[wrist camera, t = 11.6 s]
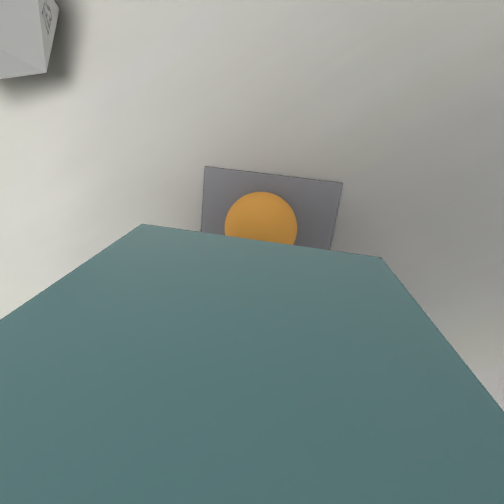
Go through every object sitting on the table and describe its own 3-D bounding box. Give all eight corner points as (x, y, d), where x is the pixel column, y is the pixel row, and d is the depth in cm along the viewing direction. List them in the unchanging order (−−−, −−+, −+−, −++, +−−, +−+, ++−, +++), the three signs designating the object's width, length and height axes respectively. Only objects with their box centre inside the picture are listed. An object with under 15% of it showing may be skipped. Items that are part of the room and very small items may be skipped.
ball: (285, 284, 24) (290, 232, 27) (303, 238, 20) (307, 184, 23) (215, 270, 24) (229, 220, 27) (219, 221, 20) (234, 169, 23)
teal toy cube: (381, 257, 11) (736, 706, 2) (331, 437, 13) (416, 943, 5) (142, 223, 11) (-299, 522, 3) (140, 407, 13) (-79, 842, 5)
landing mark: (342, 182, 24) (342, 183, 24) (317, 304, 28) (318, 306, 27) (205, 166, 25) (204, 166, 24) (198, 288, 28) (197, 289, 28)
